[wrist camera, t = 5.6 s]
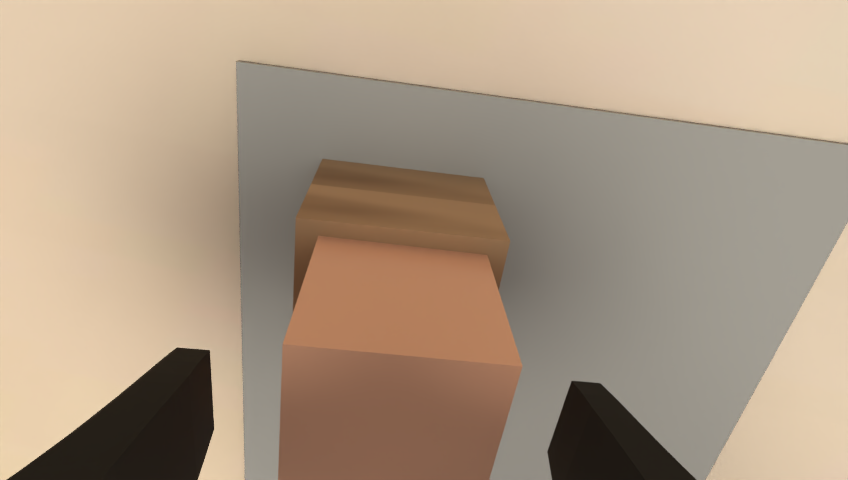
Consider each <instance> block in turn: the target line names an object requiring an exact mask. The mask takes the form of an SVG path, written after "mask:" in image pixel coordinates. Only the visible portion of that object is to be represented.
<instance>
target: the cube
mask: <svg viewBox="0 0 848 480" xmlns="http://www.w3.org/2000/svg"><path fill="white" fill-rule="evenodd" d="M522 367H523V366H522V363H521V360H520V357H519V353H518V350H517V347H516V344H515V341H514V338H513V334H512V331H511V328H510V325H509V322H508V319H507V315H506V312H505V309H504V306H503V303H502V300H501V296H500V293H499V290H498V287H497V284H496V281H495V278H494V274H493V271H492V268H491V265H490V262H489V259H488V255H484V254H475V253H466V252H457V251H449V250H440V249H431V248H422V247H414V246H405V245H396V244H387V243H379V242H370V241H361V240H352V239H343V238H335V237H326V236H318V238H317V241H316V244H315V247H314V250H313V254H312V257H311V260H310V263H309V266H308V269H307V272H306V275H305V278H304V281H303V284H302V287H301V290H300V293H299V296H298V299H297V302H296V305H295V308H294V311H293V314H292V317H291V320H290V323H289V326H288V329H287V332H286V335H285V338H284V341H283V345H282V375H281V404H280V434H279V464H278V480H489V479H490V475H491V472H492V468H493V465H494V462H495V458H496V455H497V451H498V448H499V445H500V441H501V438H502V435H503V431H504V428H505V424H506V421H507V418H508V414H509V411H510V407H511V404H512V401H513V397H514V394H515V391H516V387H517V384H518V380H519V377H520V374H521V370H522Z"/></svg>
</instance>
